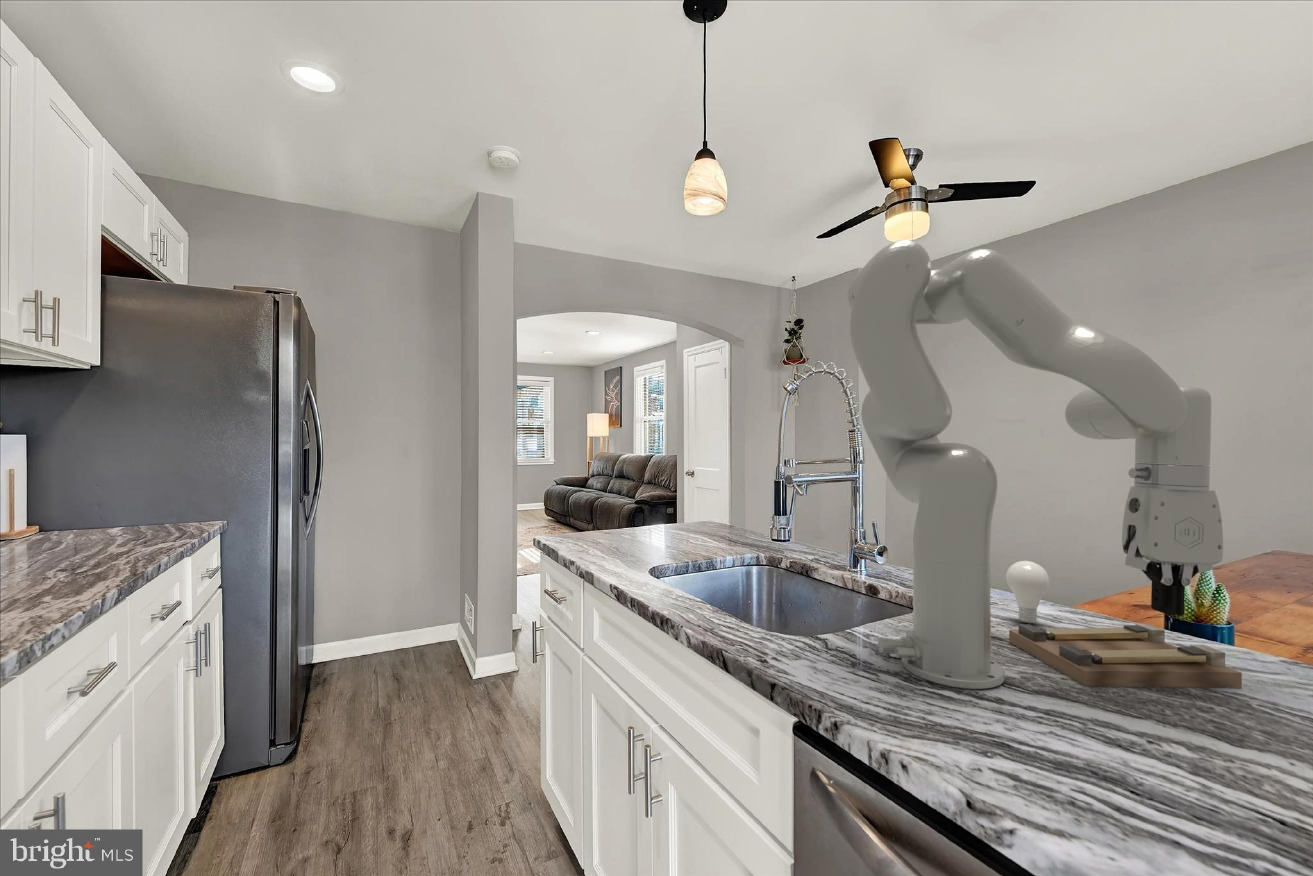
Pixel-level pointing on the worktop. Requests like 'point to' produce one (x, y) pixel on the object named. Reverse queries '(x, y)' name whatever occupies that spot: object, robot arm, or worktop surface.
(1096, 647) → the board
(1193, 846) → the worktop surface
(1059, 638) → the back bar
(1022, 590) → the lightbulb
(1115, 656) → the front bar
